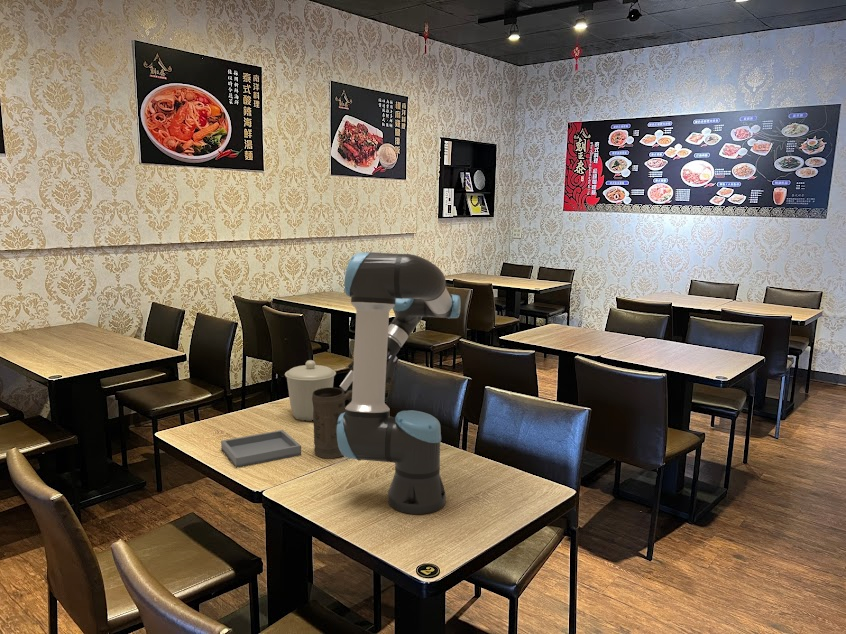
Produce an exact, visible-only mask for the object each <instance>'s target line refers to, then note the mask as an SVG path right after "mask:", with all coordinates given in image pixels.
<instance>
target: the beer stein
mask: <svg viewBox="0 0 846 634" xmlns="http://www.w3.org/2000/svg"><path fill="white" fill-rule="evenodd" d="M346 401H348V404H349V403H351V401H352V389H350V390H346V393H345V391H344V390H343V389H342V388H341V387H339V388H338V387H333V388H331V387H330V388H321V389H318V390H315V391H314V392H313V394H312V402H313V421H312V422H313V444H314V450H313V453H314V454H315V455H316V457H319V458H322V459H336V458H339V457H342V456H343V455H342V454H341V452H340V450H339V447H338V442H337V425H338V418H339V416H340V415H341V414H342V413H344V412H345V408H346ZM343 457H344V456H343Z"/></svg>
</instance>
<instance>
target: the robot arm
mask: <svg viewBox="0 0 846 634" xmlns="http://www.w3.org/2000/svg"><path fill="white" fill-rule="evenodd" d="M343 282H344V284H343V286H344V293H345V295H346V296H348V297H350V298H351V299H350V304H351V305H352V306H353V307H354V308H355V310H356V312H355V330H354V331H355V335H354V347H353V348H354V349H353V350H354V353H353V361H352V362H350V363H349V364H347V367H348V369H349V371H348V372H347V374H346V375H345V377H344V379H343V381H342V382H341V383H340V385H339V388H340V389H342V390H343V391H344V392H347V391H348V389H349V387H351V385H352V389H351V390H352V401H351V403H349V402H348V404H347V405H345V412H344V413H342V414H341V415H340V416H339V418H338V425H337V442H338V447H339V450H340V452H341V454H342V455H343V457H345V458H347V459H352V460H357V461H372V462H382V463H394V465H395V467H394V474H393V478H392V479H391V483H390V486H389V489H388V492H387V502H388V505H389V506H390V507H391V508H392V509H393V510H396V511H398V512H401V513H405V514H410V515H425V514H431V513H434V512H435V513H436V512H437V511H439V510H441V509H443V507H444V506H445V505H446V498H447V497H446V491H445V486H444V484H443V481H442V478H441V472H440V471H441V466H440V465H441V441H442V434H441V432H442V431H441V423H440V421H439V420H438V418H436V417H435V416H433V415H432V414H430V413H427V412H423V411H419V410H412V409H411V410H410V409H409V410H401V411H399V412H397V413H396V415H395V416H390V415H391V414H390V412H391V411H390V407H389V406H388V405H387V404H386V403H385V398H386V397H385V396H386V385H387V384H391V383H392V380H393V376H394V372H395V368H396V364H397V363H398V361H399V358H398V357H397V354H398V353H399V351H400V350H401V347H403V346H404V344H405V343H406V341H407V340H408V339H409V337H410V336H411V334H412V333H413V331H414V330H415V329H416V327H417V326H418V324H419V323H420V322H421V321H422V318H441V319H442V318H443V319H458V318H459V317H460V314H461V308H462V307H461V305H462V303H461V296H460V295H458V294H452V293H449V290H448V289H447V280H446V277H445V275H444V273H443V271H442V270H441V269H440V268H439V267H438V266H437V265H436V264H434V263H432V262H431V261H430V260H427V259H426V258H424V257H422V256H418V255H415V254H412V253H411V254H410V253H389V252H387V253H386V252H374V251H373V252H372V251H370V252H357V253H355V254H354V255H352V257H351V258H350V260H349V261H348V264H347V266H346V270H345V273H344V281H343ZM391 310H393V314H394V318H393V319H392V320H391V323H389V320H390V311H391Z"/></svg>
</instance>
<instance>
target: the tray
mask: <svg viewBox="0 0 846 634" xmlns="http://www.w3.org/2000/svg"><path fill="white" fill-rule="evenodd" d="M220 443H221V444H220V447H221V448H220V449H221V451H222V453H223V454H224V453H225V454H224V455H225V456H226V458H228V460H229V461H230V462H231V464H233V466H234V468H236V469H238V468H237V467H239V468H243V466H244V467H248V465H249V466H252V465H258V464H262V463H268V462H273V460H274V461H278V459H279V460H282V459H283V458H284V459H287V458H292V457H299V456H302V445H301V444H300V443H299V442H298V441H296V440H295V439H294V438H293V437H292V436H291V435H290V434H288V433H287V432H286V431H285V430H284V429H279V430H274V431H267V432H264V433H257V434H252V435H246V436H241V437H235V438H229V439H223V440H220Z"/></svg>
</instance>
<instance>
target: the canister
mask: <svg viewBox="0 0 846 634" xmlns="http://www.w3.org/2000/svg"><path fill="white" fill-rule="evenodd" d="M336 375H337V372H336V371H335V370H334V369H332V368H331V367H330V366H326V365H320V364H316V361H314V360H312V359H309V360H306V362H305V365H298V366H294V367H292V368H290V369H289V370H287V371H286V372H285V373H284V376H285V378H286V382H287V389H288V396H289V397H288V399H289V403H290V411H291V413H292V415H293V417H294V418H295V419H296V420H300V421H304V420H306V421H305V422H313V421H312V420H313V402H312V394H313V392H314V391H315V390H318V389H321V388H330V387H331V388H334V382H335V381H334V379H335V377H336Z"/></svg>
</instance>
